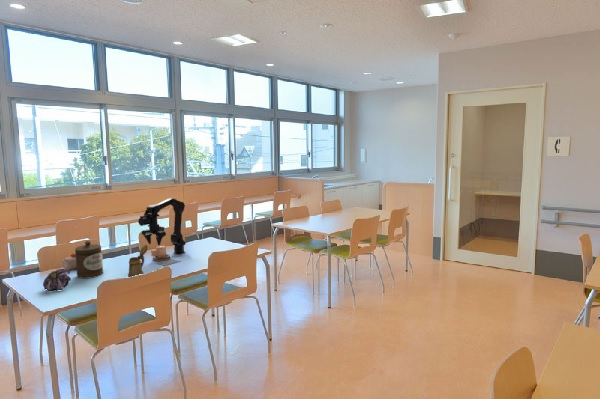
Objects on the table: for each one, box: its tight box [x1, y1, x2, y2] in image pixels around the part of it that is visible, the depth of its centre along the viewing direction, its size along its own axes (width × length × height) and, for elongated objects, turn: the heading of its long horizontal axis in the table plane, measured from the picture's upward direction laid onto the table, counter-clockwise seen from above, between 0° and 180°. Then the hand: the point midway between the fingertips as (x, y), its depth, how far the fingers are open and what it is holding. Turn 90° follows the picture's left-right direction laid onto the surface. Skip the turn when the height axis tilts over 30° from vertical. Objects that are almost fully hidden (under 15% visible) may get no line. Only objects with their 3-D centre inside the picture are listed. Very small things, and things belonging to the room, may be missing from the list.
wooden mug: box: [127, 244, 148, 278], centre depth 256 cm, size 9×14×18 cm, turn 142°
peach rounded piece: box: [150, 245, 167, 258], centre depth 289 cm, size 12×7×9 cm, turn 154°
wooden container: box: [75, 240, 104, 279], centre depth 256 cm, size 15×15×22 cm
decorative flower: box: [42, 268, 72, 292], centre depth 232 cm, size 15×12×15 cm
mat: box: [157, 259, 182, 267], centre depth 282 cm, size 13×9×1 cm
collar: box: [152, 253, 171, 262], centre depth 292 cm, size 12×12×2 cm
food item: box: [62, 253, 77, 271], centre depth 271 cm, size 14×8×10 cm, turn 140°
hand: (154, 244), depth 286 cm, fingers open, 9 cm apart
